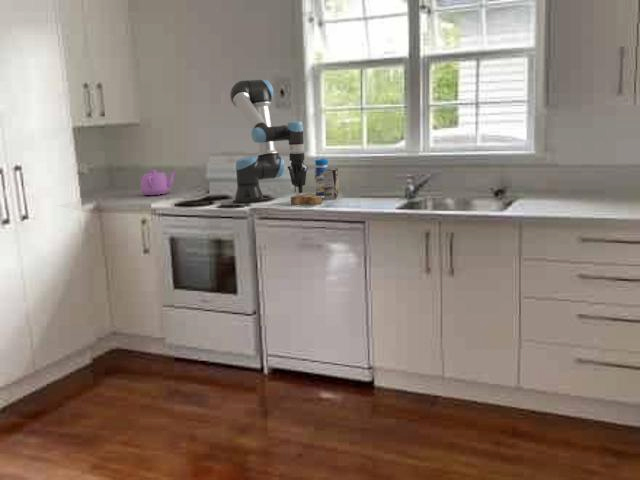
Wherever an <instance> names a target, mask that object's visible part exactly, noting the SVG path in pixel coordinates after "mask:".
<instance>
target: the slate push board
mask: <svg viewBox="0 0 640 480" xmlns="http://www.w3.org/2000/svg"><path fill="white" fill-rule="evenodd" d="M332 204H333V202H329V201H324V200H322V205H317V206H313V205H305V204H302V205H291V200H288V201H282V202H276V203H275V205H280V206H286V207H287V206H288V207H294V208H303V209H311V208H315V207H316V208H317V207H321V206H325V205H332Z"/></svg>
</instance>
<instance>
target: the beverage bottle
mask: <svg viewBox="0 0 640 480" xmlns="http://www.w3.org/2000/svg"><path fill="white" fill-rule="evenodd" d="M314 162H315V166H316V167H315V169H314V182H315V183H314V184H315V194H316V196H322V197H324V174H323V171H324V170H325V169H329V167H328V165H329V161H328V158H316V159H315V161H314Z"/></svg>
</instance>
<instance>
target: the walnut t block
mask: <svg viewBox="0 0 640 480" xmlns="http://www.w3.org/2000/svg"><path fill="white" fill-rule="evenodd" d="M322 198H323V196H316V193H305V194H302V195H299V196H296V195H295V196H294V195H293V196H290V201H291V205H302V204H305V205H313V206H317V205H322V201H323V199H322ZM322 206H323V205H322ZM317 207H318V206H317Z"/></svg>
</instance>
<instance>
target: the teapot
mask: <svg viewBox="0 0 640 480" xmlns="http://www.w3.org/2000/svg"><path fill="white" fill-rule="evenodd" d="M176 172H178V170H174V171H171V173H170V176H169V179H168V177H167V174H166V173H165V172H161V171H160V172H157V169H151V170H150V172H149V173H148V172H147V173H144V174H143V176H142V179H141V183H140V192H141V193H142V195H144V196H147V195H151V196H154V195H156V196H160V195H159V194H162V195H163V194H164V195H165V194H168V193H169V192H170V189H171V187H172V186H173V183H174V177H175V173H176Z"/></svg>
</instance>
